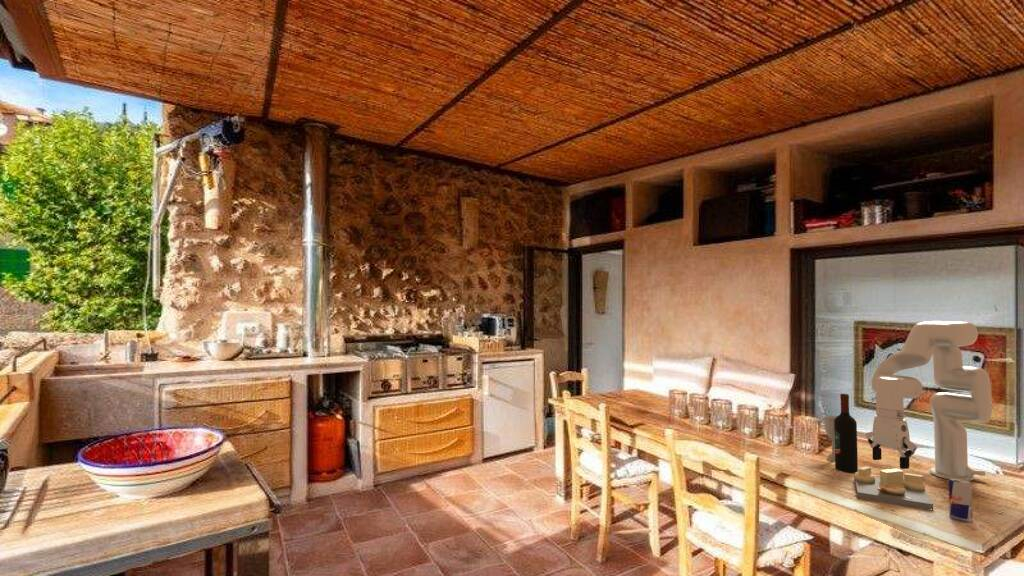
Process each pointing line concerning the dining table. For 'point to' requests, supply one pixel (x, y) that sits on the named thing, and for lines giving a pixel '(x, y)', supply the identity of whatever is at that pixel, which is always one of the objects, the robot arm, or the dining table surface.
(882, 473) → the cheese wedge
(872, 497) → the base
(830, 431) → the chalice
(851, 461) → the wine bottle
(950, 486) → the energy drink
